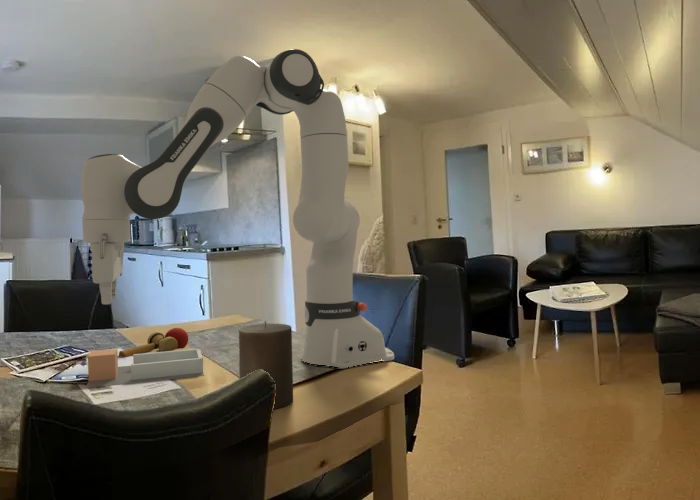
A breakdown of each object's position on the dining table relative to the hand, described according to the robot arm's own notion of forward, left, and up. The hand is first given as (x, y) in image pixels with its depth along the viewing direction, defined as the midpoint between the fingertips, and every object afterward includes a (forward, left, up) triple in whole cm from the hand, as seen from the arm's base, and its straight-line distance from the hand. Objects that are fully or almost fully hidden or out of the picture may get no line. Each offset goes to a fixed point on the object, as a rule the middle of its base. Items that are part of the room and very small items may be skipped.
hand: (109, 301), depth 106 cm
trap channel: (-7, 0, -17) cm, 18 cm away
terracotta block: (+1, 0, -16) cm, 16 cm away
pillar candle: (-28, +23, -17) cm, 40 cm away
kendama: (-8, -22, -18) cm, 29 cm away
